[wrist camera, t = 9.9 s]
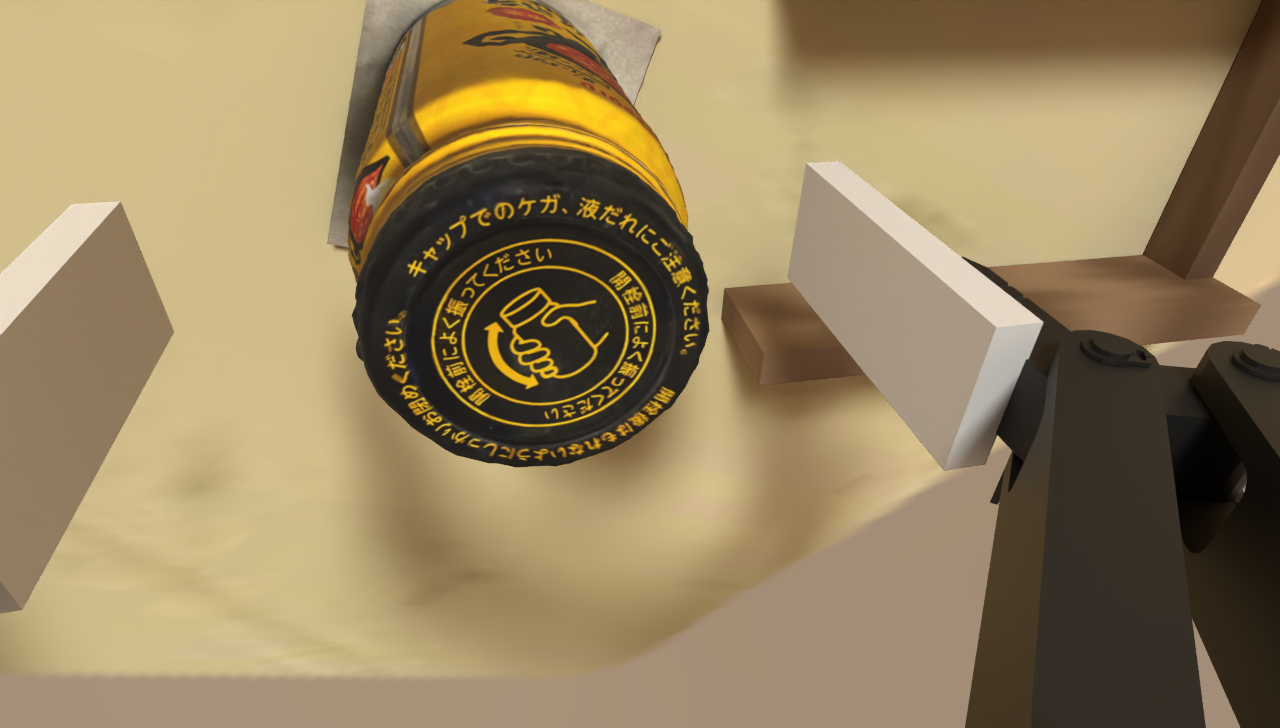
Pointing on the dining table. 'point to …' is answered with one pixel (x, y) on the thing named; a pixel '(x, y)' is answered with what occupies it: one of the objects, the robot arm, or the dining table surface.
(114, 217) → the robot arm
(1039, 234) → the dining table surface
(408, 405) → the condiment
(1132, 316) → the walnut shelf lane
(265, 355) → the dining table surface
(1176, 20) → the dining table surface
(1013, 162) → the dining table surface
